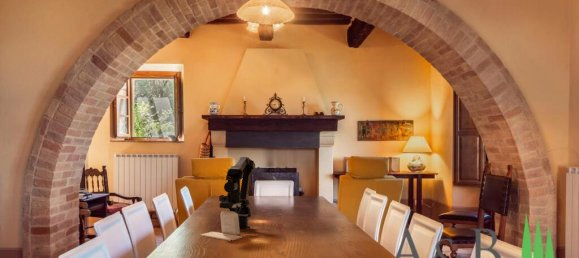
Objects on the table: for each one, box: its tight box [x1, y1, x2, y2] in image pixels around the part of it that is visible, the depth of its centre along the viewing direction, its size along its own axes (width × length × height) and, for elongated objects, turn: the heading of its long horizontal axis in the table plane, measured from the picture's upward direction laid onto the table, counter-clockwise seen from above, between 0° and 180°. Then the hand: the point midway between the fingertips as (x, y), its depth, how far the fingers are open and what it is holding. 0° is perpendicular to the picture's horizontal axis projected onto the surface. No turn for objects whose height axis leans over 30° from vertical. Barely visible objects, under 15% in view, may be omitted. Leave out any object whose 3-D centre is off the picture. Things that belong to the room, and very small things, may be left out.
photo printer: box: [219, 210, 240, 236], centre depth 237 cm, size 10×4×12 cm, turn 60°
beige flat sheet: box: [200, 231, 243, 242], centre depth 231 cm, size 9×20×1 cm, turn 58°
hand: (234, 219), depth 240 cm, fingers closed
